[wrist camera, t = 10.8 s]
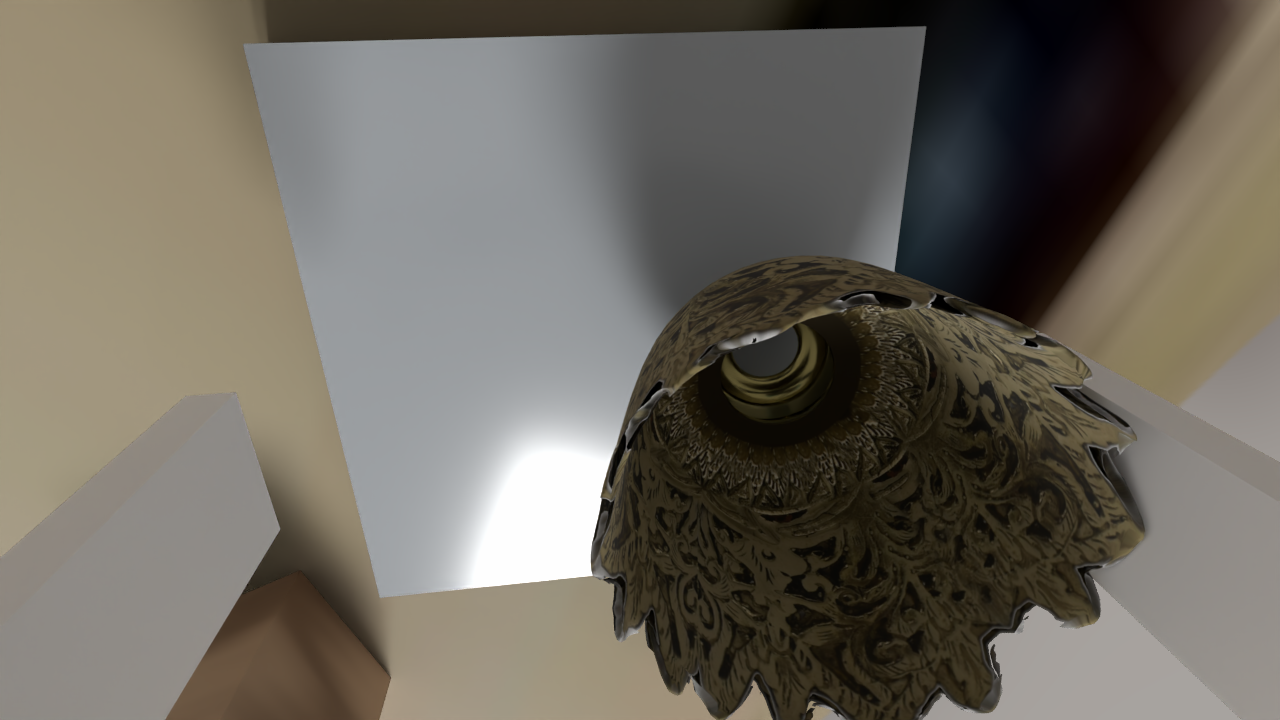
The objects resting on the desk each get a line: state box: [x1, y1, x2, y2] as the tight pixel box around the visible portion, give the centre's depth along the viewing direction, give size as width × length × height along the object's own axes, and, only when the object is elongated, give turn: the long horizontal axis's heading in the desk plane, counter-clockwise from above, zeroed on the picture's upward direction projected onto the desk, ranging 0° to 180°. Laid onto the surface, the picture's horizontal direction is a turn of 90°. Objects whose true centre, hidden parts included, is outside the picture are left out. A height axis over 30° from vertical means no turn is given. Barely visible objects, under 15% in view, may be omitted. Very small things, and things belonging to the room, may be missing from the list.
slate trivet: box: [243, 26, 926, 598], centre depth 17 cm, size 14×14×1 cm
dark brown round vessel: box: [590, 256, 1145, 720], centre depth 12 cm, size 8×7×8 cm
